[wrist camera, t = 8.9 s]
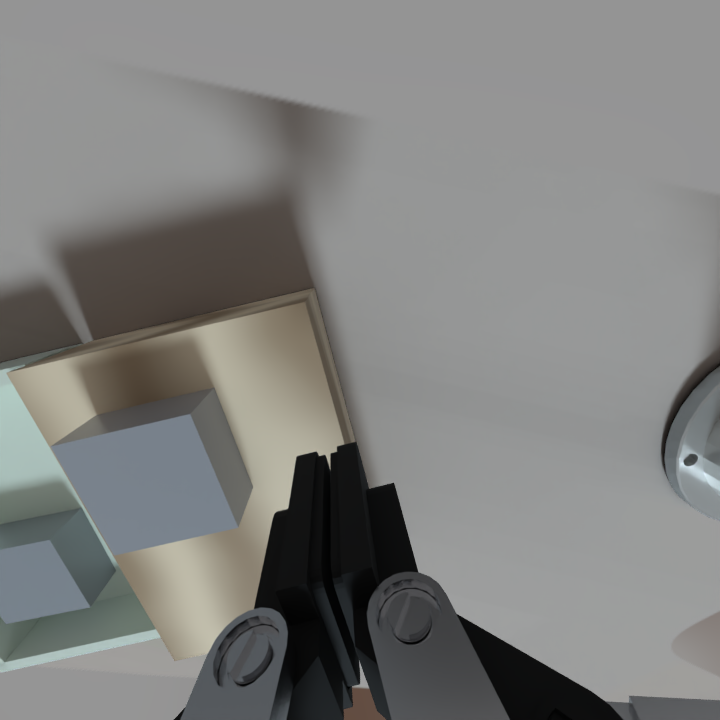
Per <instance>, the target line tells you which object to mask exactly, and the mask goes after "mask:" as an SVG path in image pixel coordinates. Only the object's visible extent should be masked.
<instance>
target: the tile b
mask: <svg viewBox="0 0 720 720" xmlns="http://www.w3.org/2000/svg"><path fill="white" fill-rule="evenodd" d="M50 447H51V448H52V450H53V452H54V453H55V455H56V457H57V459H58V460H59V462H60V464H61V465H62V467H63V469H64V471H65V472H66V474H67V476H68V477H69V479H70V481H71V483H72V484H73V486H74V488H75V489H76V491H77V493H78V495H79V496H80V498H81V500H82V501H83V503H84V505H85V507H86V508H87V510H88V512H89V513H90V515H91V517H92V519H93V520H94V522H95V524H96V525H97V527H98V529H99V531H100V532H101V534H102V536H103V537H104V539H105V541H106V543H107V544H108V546H109V548H110V549H111V551H112V553H113V555H114V556H115V555H119V554H124V553H128V552H133V551H137V550H141V549H146V548H150V547H155V546H159V545H164V544H168V543H173V542H177V541H181V540H186V539H190V538H195V537H199V536H204V535H208V534H213V533H217V532H221V531H226V530H230V529H235V528H238V527H239V525H240V522H241V519H242V517H243V514H244V511H245V508H246V506H247V503H248V500H249V498H250V495H251V492H252V489H253V485H252V483H251V480H250V478H249V475H248V472H247V470H246V467H245V465H244V462H243V460H242V457H241V454H240V452H239V449H238V447H237V444H236V442H235V439H234V436H233V434H232V431H231V429H230V426H229V424H228V421H227V419H226V416H225V413H224V411H223V408H222V406H221V403H220V401H219V398H218V395H217V393H216V390H215V388H210V389H205V390H201V391H197V392H192V393H188V394H184V395H180V396H175V397H171V398H167V399H163V400H158V401H154V402H150V403H145V404H141V405H137V406H133V407H128V408H124V409H120V410H116V411H111V412H107V413H103V414H98V415H96V416H94V417H93V418H91V419H90V420H89V421H87V422H86V423H84V424H83V425H81V426H80V427H78V428H77V429H75V430H74V431H72V432H71V433H69V434H68V435H67V436H65V437H64V438H62V439H61V440H59V441H58V442H56V443H55V444H53V445H52V446H50Z"/></svg>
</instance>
